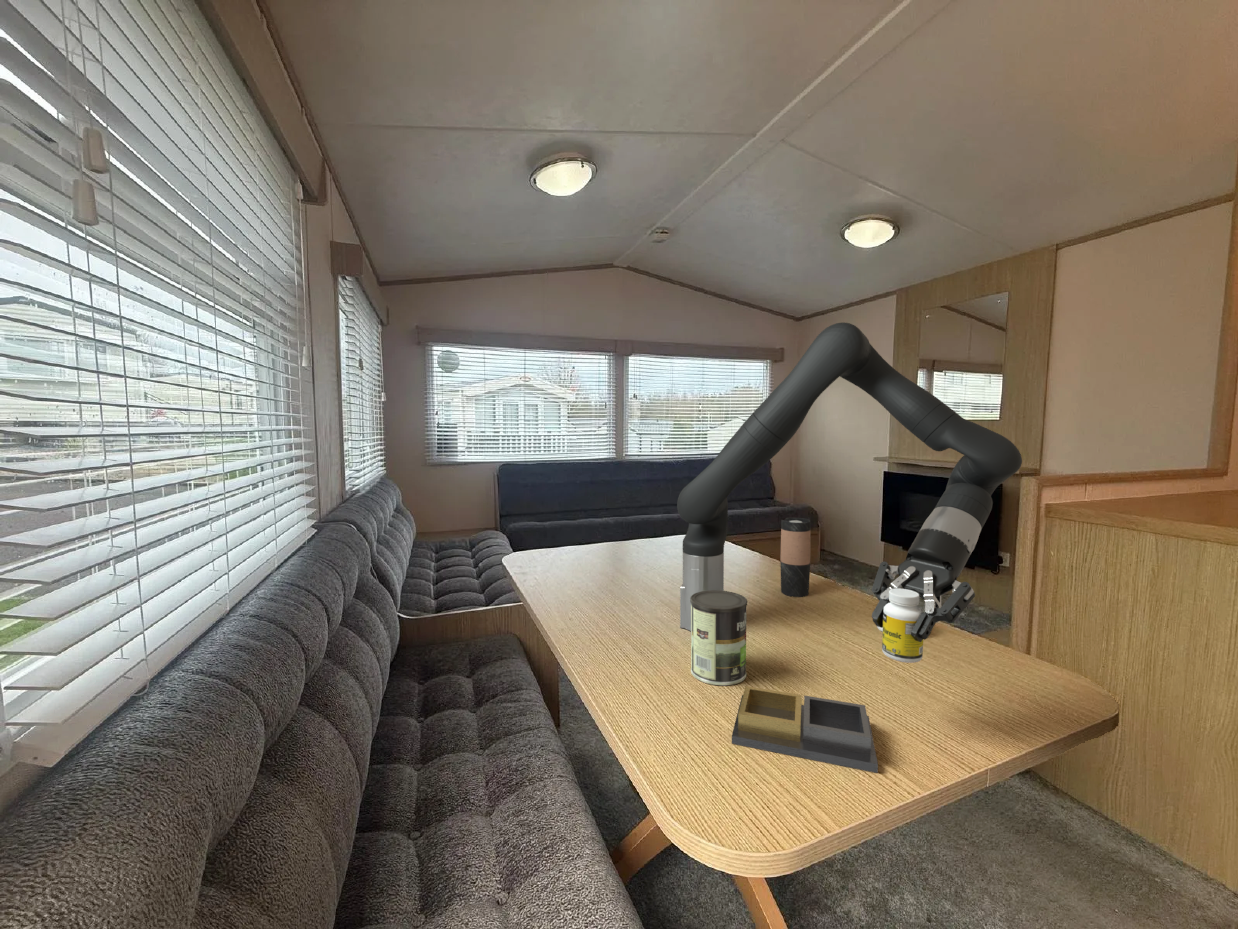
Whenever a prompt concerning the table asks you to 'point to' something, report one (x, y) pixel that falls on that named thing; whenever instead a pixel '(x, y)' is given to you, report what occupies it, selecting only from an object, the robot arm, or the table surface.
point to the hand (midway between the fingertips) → (895, 630)
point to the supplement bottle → (901, 626)
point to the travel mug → (795, 556)
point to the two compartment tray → (806, 728)
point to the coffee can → (718, 637)
